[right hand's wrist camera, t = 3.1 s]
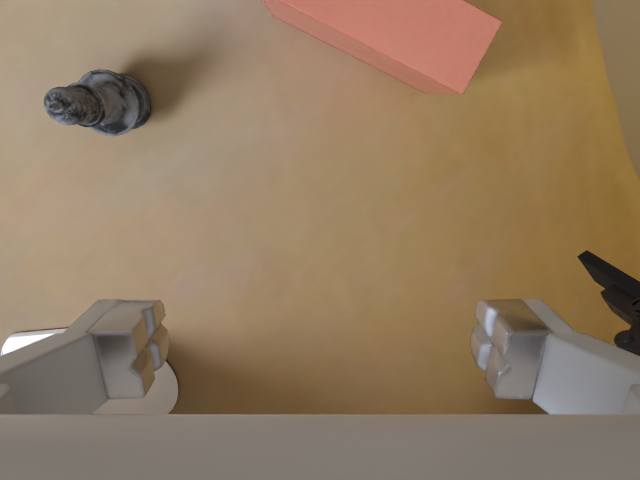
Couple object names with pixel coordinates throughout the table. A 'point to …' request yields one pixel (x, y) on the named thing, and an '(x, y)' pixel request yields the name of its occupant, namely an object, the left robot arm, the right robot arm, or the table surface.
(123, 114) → the salt shaker
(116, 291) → the table surface
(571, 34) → the table surface
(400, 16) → the lid
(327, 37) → the chest
